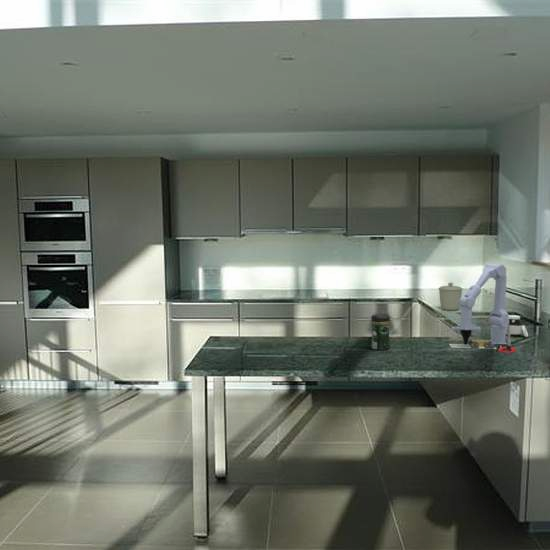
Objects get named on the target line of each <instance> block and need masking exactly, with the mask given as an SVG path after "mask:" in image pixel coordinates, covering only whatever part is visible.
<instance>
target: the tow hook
mask: <svg viewBox="0 0 550 550" xmlns="http://www.w3.org/2000/svg"><path fill="white" fill-rule="evenodd" d="M511 342H512V341H511V337H510V326H508V336H507V340H506V343H507V344H505V345H506V346H501V348H497V351H498V352H501V353H505V352H506V353H507V354H513V353H515V352H516V351H517V348H516V347H512V345H511ZM505 350H509V351H505Z"/></svg>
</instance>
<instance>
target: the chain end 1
mask: <svg viewBox="0 0 550 550" xmlns="http://www.w3.org/2000/svg"><path fill="white" fill-rule="evenodd" d="M468 344H469V345H471V348H470V349H480V348H479V343H472V340H468Z"/></svg>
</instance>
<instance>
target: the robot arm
mask: <svg viewBox="0 0 550 550" xmlns="http://www.w3.org/2000/svg"><path fill="white" fill-rule="evenodd" d="M489 279H493V280H494V281H495V287H494V300H493V301H494V302H493V309H492V310H491V311H490V312H489V313H490V314H489V317H488V323H489V325H490V327H491V328H490V339H488V340H489V341H492V343H495V344H496V345H507V341H506V336H507V335H506V328H507V326H508V324H509V318H508V315H509V313H508V312H507V311H506V310H505V308H506V296H507V295H506V291H507V267H506V266H505V265H504V264H502V263H500V264H499V263H490V262H489V263H486V264H485V266H484V267H483V268H482V273H481V275H480V276H479V278H478V279H477V281H476V282H475V284H473V285H470V286H469V288H468V290H467V292H466V293H465V294H464V295H463V296H461V298H460V300H459V301H458V303H459V306H460V307H459V309H460V323H459V325H460V326H459V325H458V326H451V331H452V332H453V331H456V332H458V331H460V334H461V336H462V340H463V344H464V345H467V344H469V339H470V337H471V336H472V333H473V332H481V327H480V326H472V325H473V322H472V321H473V308H474V306H475V305H476V300H477V299H478V297H479V295H480V294H481V293H482V287H484V286H485V284H486V283H487V282H488V281H489Z"/></svg>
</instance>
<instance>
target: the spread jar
mask: <svg viewBox="0 0 550 550" xmlns="http://www.w3.org/2000/svg"><path fill="white" fill-rule="evenodd" d="M508 318H509V324H508V326H510V336H514V337H513V338H516V337H515V336H519V337H521V336H522V333H523V335H524V337H525V338H528V337H529V334H528V330H527V327H526V326H525V324H524V325H523V324H522V321H521V316H520V315H516V314H514V315H512V314H508ZM508 326H507V328H506V335H505V336H506V337H508Z"/></svg>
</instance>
